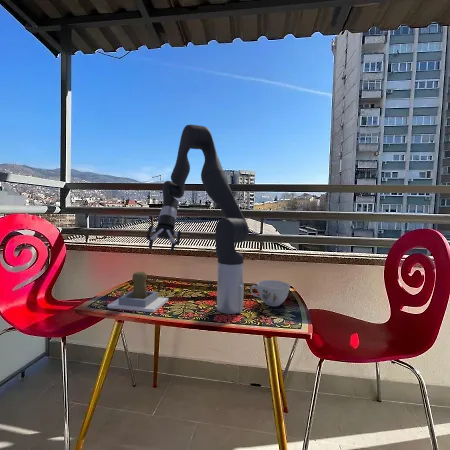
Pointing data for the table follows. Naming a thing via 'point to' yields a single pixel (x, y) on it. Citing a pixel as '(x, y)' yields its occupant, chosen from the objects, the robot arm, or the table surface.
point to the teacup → (272, 291)
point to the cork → (139, 285)
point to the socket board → (139, 302)
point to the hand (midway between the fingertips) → (160, 250)
